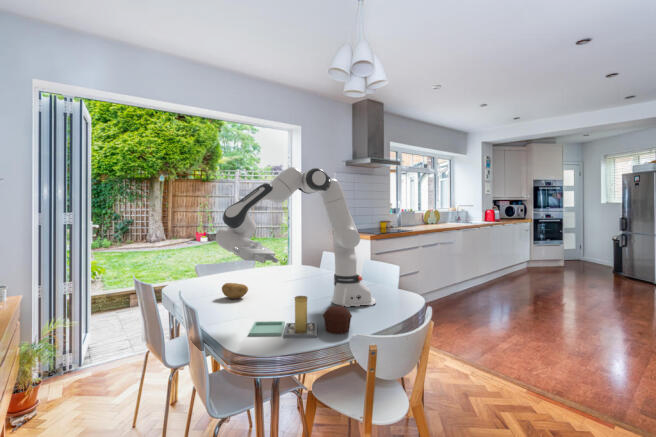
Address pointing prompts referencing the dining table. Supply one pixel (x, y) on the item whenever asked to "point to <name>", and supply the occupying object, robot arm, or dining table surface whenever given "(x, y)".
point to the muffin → (337, 319)
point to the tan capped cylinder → (301, 314)
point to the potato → (234, 290)
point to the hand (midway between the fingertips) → (270, 261)
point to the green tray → (267, 328)
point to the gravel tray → (292, 334)
